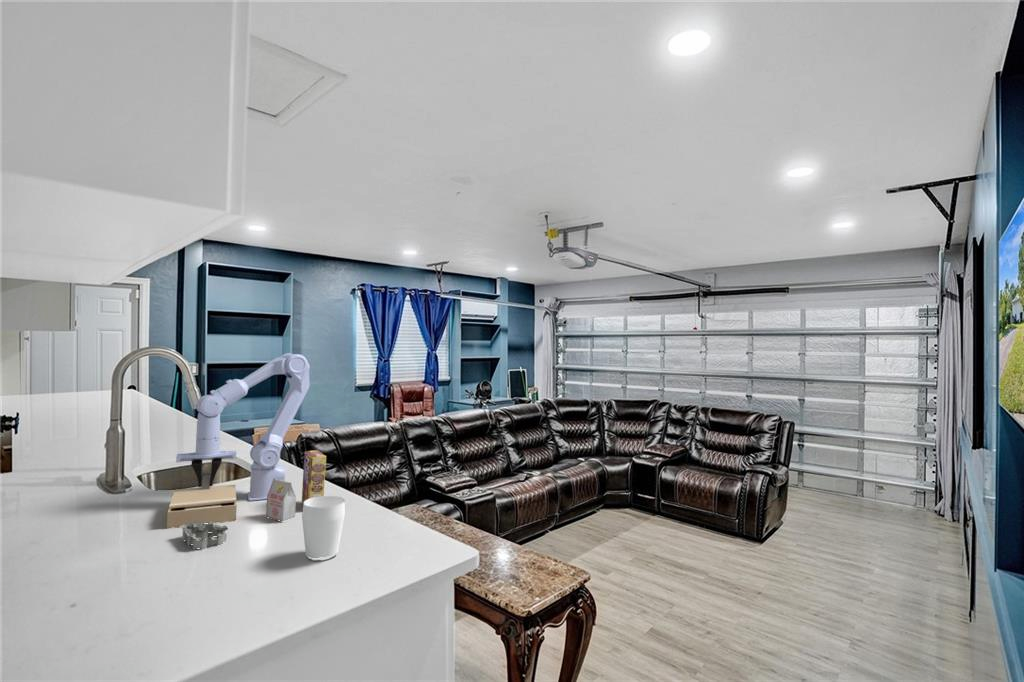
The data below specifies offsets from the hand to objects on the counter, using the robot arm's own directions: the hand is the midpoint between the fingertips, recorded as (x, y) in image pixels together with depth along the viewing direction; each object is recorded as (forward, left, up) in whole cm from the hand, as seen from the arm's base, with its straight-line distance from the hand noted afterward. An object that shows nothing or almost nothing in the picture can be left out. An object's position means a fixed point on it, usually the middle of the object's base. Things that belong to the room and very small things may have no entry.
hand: (205, 485), depth 144 cm
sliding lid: (0, +7, -1) cm, 7 cm away
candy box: (-27, +12, -6) cm, 30 cm away
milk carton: (-18, +19, -6) cm, 27 cm away
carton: (0, +9, -5) cm, 11 cm away
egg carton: (-1, +29, -6) cm, 30 cm away
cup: (-24, +48, -6) cm, 54 cm away
